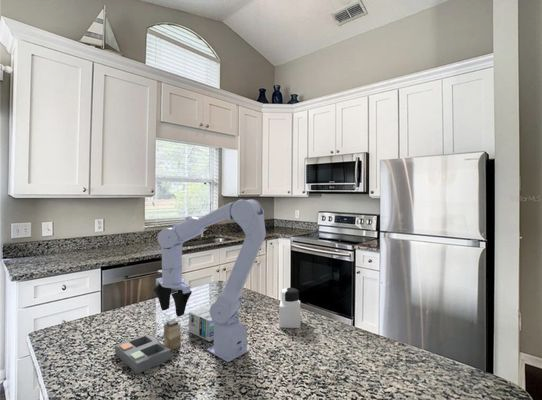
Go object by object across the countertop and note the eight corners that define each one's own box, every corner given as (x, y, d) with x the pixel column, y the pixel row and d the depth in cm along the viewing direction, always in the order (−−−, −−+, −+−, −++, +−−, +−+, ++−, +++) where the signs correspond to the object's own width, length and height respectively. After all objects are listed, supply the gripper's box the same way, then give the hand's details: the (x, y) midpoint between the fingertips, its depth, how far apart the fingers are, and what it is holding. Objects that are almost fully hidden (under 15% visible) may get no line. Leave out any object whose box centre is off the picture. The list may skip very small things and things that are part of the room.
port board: (170, 358, 80) (170, 348, 80) (137, 373, 73) (137, 362, 73) (146, 342, 89) (146, 332, 89) (115, 354, 83) (115, 343, 83)
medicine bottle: (300, 319, 105) (300, 286, 105) (300, 328, 98) (300, 292, 98) (280, 319, 106) (280, 285, 106) (279, 327, 99) (278, 292, 99)
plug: (180, 345, 87) (180, 321, 87) (170, 350, 85) (169, 325, 85) (174, 342, 89) (174, 318, 89) (164, 346, 87) (163, 322, 87)
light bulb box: (188, 332, 96) (208, 343, 89) (188, 311, 96) (209, 320, 89) (213, 321, 104) (234, 330, 97) (214, 302, 104) (235, 310, 97)
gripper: (198, 268, 87) (198, 313, 87) (169, 261, 96) (170, 303, 96) (178, 273, 82) (178, 321, 82) (149, 266, 90) (150, 310, 90)
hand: (172, 312), depth 88 cm, fingers open, 7 cm apart
